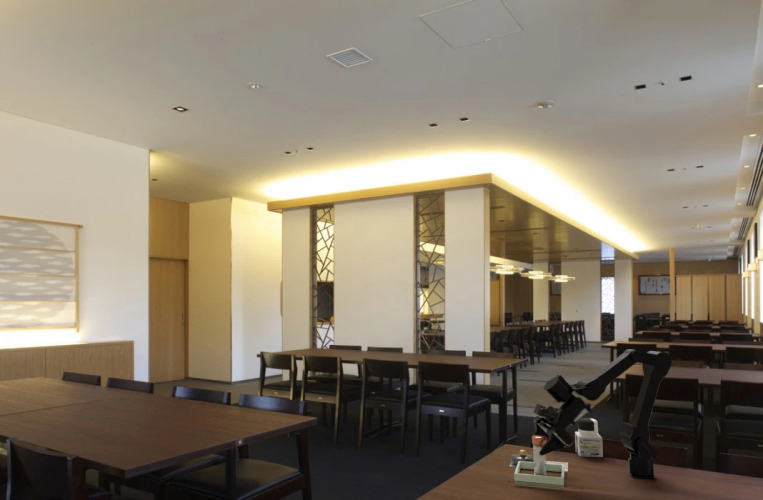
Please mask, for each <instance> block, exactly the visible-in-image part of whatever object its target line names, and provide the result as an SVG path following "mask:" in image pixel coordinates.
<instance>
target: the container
mask: <svg viewBox="0 0 763 500" xmlns="http://www.w3.org/2000/svg"><path fill="white" fill-rule="evenodd" d="M598 425H599V424H598V420H597V419H594V418H591V417H581V418H578V419H577V429H578V430H577V431H574V439H575V440H574V443H575V453H576V454H577V455H578V456H579V457H583V458H586V457H587V458H588V457H590V458H603V457H604V453H603V452H604V450H603V437H602V436H601V435H600V434H599V426H598Z"/></svg>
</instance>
